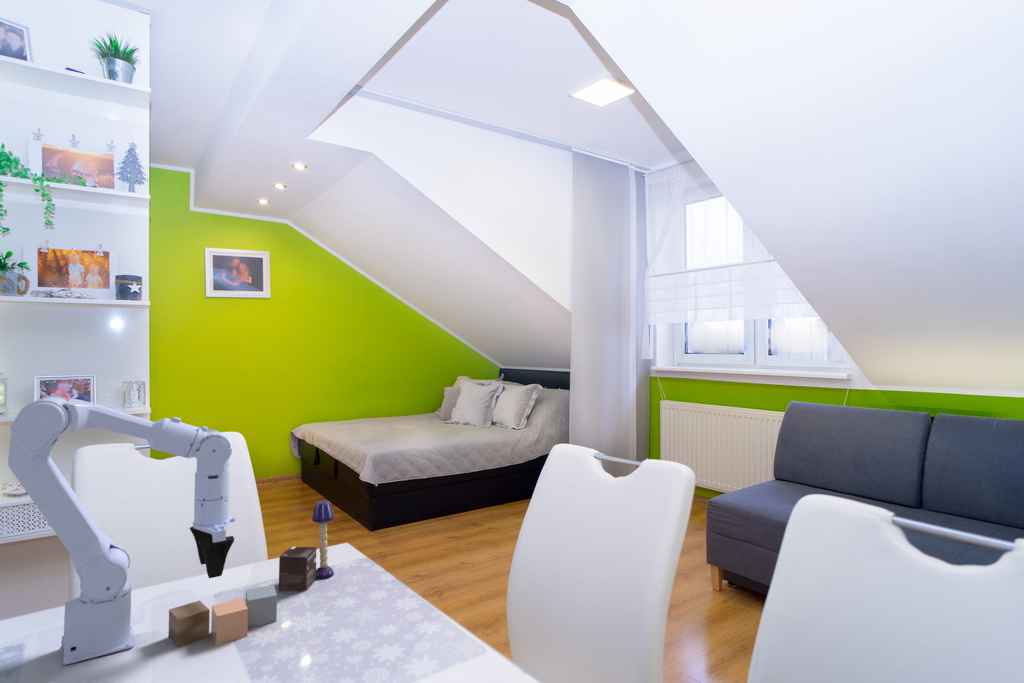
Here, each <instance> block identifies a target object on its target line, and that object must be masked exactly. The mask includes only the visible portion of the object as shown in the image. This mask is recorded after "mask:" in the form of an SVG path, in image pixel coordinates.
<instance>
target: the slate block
mask: <svg viewBox="0 0 1024 683" xmlns="http://www.w3.org/2000/svg"><path fill="white" fill-rule="evenodd" d="M245 604H246V606H247V608H248V628H249V627H250V628H252V627H256V626H260V625H265V624H270V623H274V622H277V616H278V614H277V613H278V612H277V610H278V609H277V608H278V605H277V604H278V594H277V591H276V587H275V584H272V585H267V586H261V587H260V586H259V587H256V588H250V589H245Z"/></svg>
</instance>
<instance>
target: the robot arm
mask: <svg viewBox="0 0 1024 683" xmlns="http://www.w3.org/2000/svg"><path fill="white" fill-rule="evenodd" d="M69 427H70V429H69V430H70V431H69V432H71V433H72V432H77V431H83V430H87V429H91V428H94V429H96V428H97V429H100V430H105V431H108V432H109V431H110V432H113V433H118V434H122V435H127V436H130V437H135V438H139V439H143V440H146V442H148V443H147V444H148V445H149V447H150V449H152V450H156V451H160V452H163V453H167V454H171V455H175V456H177V457H181V458H186V459H191V458H195V459H196V471H195V474H194V500H193V502H194V506H193V507H194V512H193V516H194V517H193V518H194V519H193V522H192V526H191V527H189V530H190V532H191V534H192V536H193V538H194V542H195V544H196V548H197V554H198V559H199V563H200V565H202V566H203V565H205V568H206V569H205V570H206V574H207V577H208V579H213V578H218V577H222V575H223V572H224V569H225V564H226V560H227V557H228V553H229V551H230V549H231V547H232V546H233V544H234V542H235V537H234V536H233V535H230V536H226V535H227V528H228V527H229V524H230V523H233V522H236V516H235V515H230V508H229V507H230V470H229V467H230V461H229V459H230V457H231V455H232V453H233V449H232V446H231V443H230V441H229V438H228V437H227V435H225V434H224V433H223V432H221V431H219V430H217V429H209V427H208V426H204V425H202V427H199V426H195V425H192V424H189V423H185V422H182V418H180V417H177V416H173V417H172V419H171V418H168V417H164V418H161V419H159V420H156V421H152V420H148V419H145V418H142V417H140V416H136V415H133V414H130V413H127V412H123V411H120V410H117V409H114V408H110V407H107V406H105V405H102V404H98V403H95V402H91V401H87V400H83V399H76V398H71V399H68V398H67V397H64V396H62V395H55V394H54V395H53V394H52V395H51V394H49V395H47V396H45V395H44V396H43V397H41V398H38V399H37V400H35V401H32V402H29V403H28V404H26V405H24V407H22V408H21V410H20V411H19V412H18V414H17V415H16V417H15V419H14V420H13V422H12V423H11V424H10V428H9V429H10V439H9V440H10V442H9V449H8V458H7V465H8V467H9V469H10V471H11V472H12V474H13V476H14V477H15V478H16V479H17V481H18V482H19V483H20V485H21V486H22V488H23V489H24V490H25V492H26V494H27V495H28V496H29V498H30V499H31V501H32V502H33V503H34V505H35V506H36V508H37V509H38V510H39V512H40V514H41V515H42V516H43V517H44V519H45V520H46V522H47V523H48V524H49V526H50V527H51V529H52V530H53V532H54V533H55V534H56V536H57V537H58V539H59V540H60V542H61V543H62V544H63V545H64V547H65V548H66V550H67V552H68V553H69V554H70V556H71V561H72V564H73V568H74V571H75V572H76V574H77V575H78V577H79V582H80V584H79V589H80V594H79V596H78V597H75V598H73V599H69V600H65V601H64V616H63V617H64V620H63V621H64V622H63V623H64V624H63V635H62V636H61V645H60V646H61V647H60V648H61V649H63V658H62V659H63V660H62V661H63V662H62V663H63V664H62V665H64V666H66V665H69V664H74V663H78V662H81V661H85V660H89V659H94V658H98V657H101V656H104V655H108V654H113V653H117V652H120V651H125V650H128V649H132V648H133V647H135V641H134V634H133V627H132V626H131V618H132V616H131V615H132V614H131V613H132V612H131V610H132V606H131V605H132V584H131V583H130V582H129V581H128V580H127V579H128V578H127V577H128V575H127V573H128V570H129V568H130V565H131V556H130V554H129V552H128V551H127V550H126V549H124V548H123V547H121V546H118V545H116V543H114V542H113V540H112V539H111V537H109V536H107V535H106V534H104V533H103V532H102V531H101V529H100V527H98V525H97V523H96V522H95V521H94V519H93V518H92V516H91V515H90V513H89V512H88V510H87V509H86V507H85V506H84V505H83V503H82V502H81V500H80V498H79V497H78V495H76V493H75V491H74V490H73V488H72V486H70V484H69V483H68V481H67V479H66V477H65V476H64V475H63V474H62V472H61V471H60V469H59V467H58V466H57V464H55V462H54V461H53V459H52V454H53V452H54V449H55V447H56V445H57V443H58V441H59V438H60V437H61V435H62V434H63V433H64V432H65V431H66V430H68V428H69Z"/></svg>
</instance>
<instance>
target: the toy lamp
mask: <svg viewBox="0 0 1024 683" xmlns="http://www.w3.org/2000/svg"><path fill="white" fill-rule="evenodd" d="M334 517H335V515H334V512H333V508H332V504H331V502H330V501H329V500H327V499H325V500H318V501H317V502H316V503H315V506H314V510H313V514H312V517H311V518H312V519H311V520H312V522H314V523H318V525H319V530H318V531H319V543H318V545H319V554H320V555H319V560H320V562H319V567H318V568H316V580H325V579H326V580H327V579H330V578H331V577H333V576H334V574H335V573H334V570H333V568H332V567H331V566H329V562H328V558H329V554H328V551H329V550H328V533H327V532H328V527H327V526H328V522H330V521H333V520H334V519H335V518H334Z"/></svg>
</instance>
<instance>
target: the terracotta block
mask: <svg viewBox="0 0 1024 683" xmlns="http://www.w3.org/2000/svg"><path fill="white" fill-rule="evenodd" d="M210 627H211V632H210V633H211V636H212V637H213V640H214V643H215V645H221V644H224V643H228V642H232V641H235V640H239V639H242V638H246V637H248V629H249V627H248V608H247V606H246V602H245V601H244V599H243V598H241V597H240V598H237V599H234V600H229V601H224V602H219V603H216V604H212V605H211V626H210Z"/></svg>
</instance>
